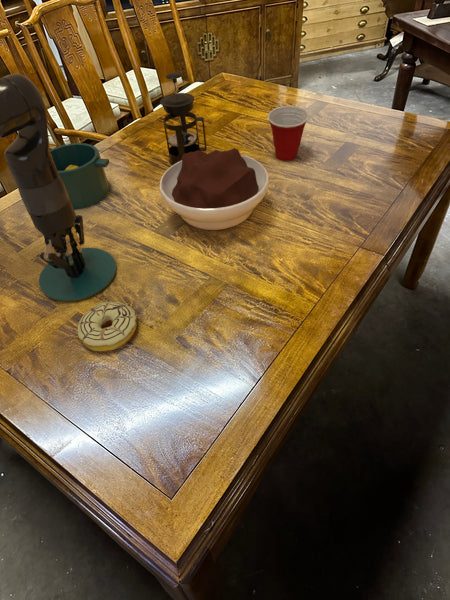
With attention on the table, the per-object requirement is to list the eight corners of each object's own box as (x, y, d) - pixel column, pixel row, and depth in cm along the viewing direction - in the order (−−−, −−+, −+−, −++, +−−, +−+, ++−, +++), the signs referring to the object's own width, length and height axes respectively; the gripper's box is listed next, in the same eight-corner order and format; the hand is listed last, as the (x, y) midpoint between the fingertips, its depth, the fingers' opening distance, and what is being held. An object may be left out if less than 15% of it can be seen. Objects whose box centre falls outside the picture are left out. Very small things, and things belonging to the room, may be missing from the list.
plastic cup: (264, 165, 115) (265, 122, 107) (269, 147, 123) (269, 105, 114) (304, 167, 114) (308, 123, 105) (306, 148, 121) (310, 105, 112)
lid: (99, 307, 81) (90, 286, 77) (26, 299, 84) (14, 278, 80) (127, 254, 92) (121, 233, 87) (61, 248, 94) (52, 227, 90)
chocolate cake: (227, 260, 89) (222, 200, 78) (144, 223, 100) (129, 165, 89) (288, 204, 102) (291, 145, 91) (209, 176, 113) (203, 120, 102)
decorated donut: (140, 308, 81) (136, 294, 78) (137, 352, 74) (132, 339, 71) (87, 313, 81) (81, 300, 78) (78, 358, 74) (71, 345, 71)
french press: (164, 169, 118) (149, 82, 101) (169, 152, 124) (155, 68, 107) (206, 167, 117) (197, 79, 100) (208, 151, 123) (200, 66, 106)
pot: (106, 212, 105) (94, 174, 97) (34, 207, 108) (16, 170, 100) (126, 180, 114) (117, 144, 107) (59, 177, 118) (46, 141, 110)
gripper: (46, 178, 80) (75, 248, 92) (7, 222, 70) (45, 293, 83) (82, 180, 78) (107, 251, 91) (47, 225, 69) (80, 297, 82)
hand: (77, 271), depth 87 cm, fingers closed on lid, 2 cm apart
